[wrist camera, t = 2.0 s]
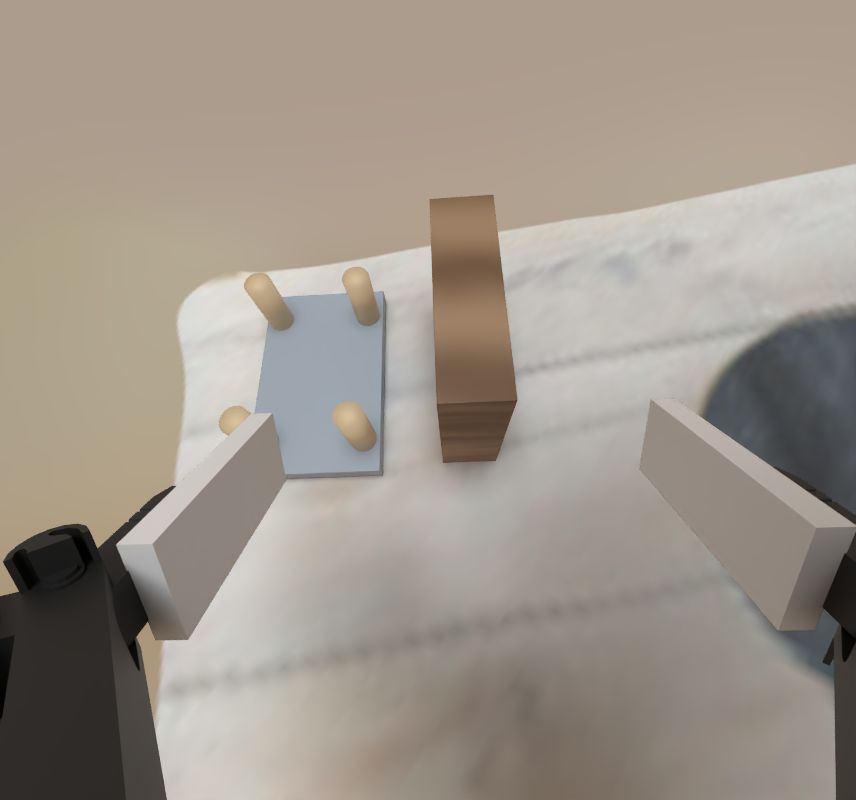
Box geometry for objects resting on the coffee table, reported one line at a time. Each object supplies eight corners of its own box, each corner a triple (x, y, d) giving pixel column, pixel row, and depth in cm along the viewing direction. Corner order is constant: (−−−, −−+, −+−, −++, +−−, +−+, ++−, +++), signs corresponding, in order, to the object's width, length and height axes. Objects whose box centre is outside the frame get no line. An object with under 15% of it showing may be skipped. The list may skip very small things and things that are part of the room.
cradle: (382, 475, 32) (365, 452, 26) (254, 479, 32) (208, 458, 26) (385, 301, 38) (372, 250, 32) (278, 307, 38) (245, 258, 32)
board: (495, 460, 32) (517, 400, 20) (443, 462, 32) (436, 403, 21) (481, 307, 37) (493, 194, 26) (437, 310, 37) (429, 199, 26)
